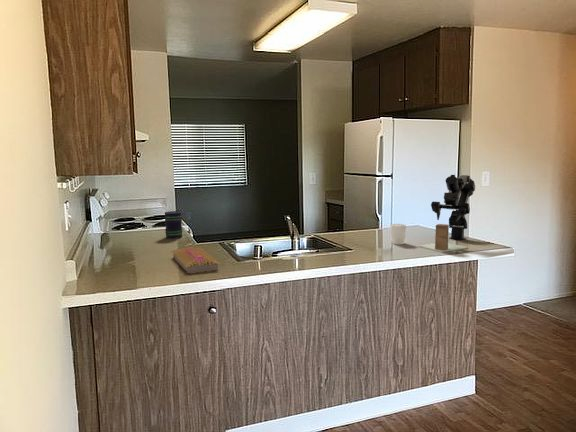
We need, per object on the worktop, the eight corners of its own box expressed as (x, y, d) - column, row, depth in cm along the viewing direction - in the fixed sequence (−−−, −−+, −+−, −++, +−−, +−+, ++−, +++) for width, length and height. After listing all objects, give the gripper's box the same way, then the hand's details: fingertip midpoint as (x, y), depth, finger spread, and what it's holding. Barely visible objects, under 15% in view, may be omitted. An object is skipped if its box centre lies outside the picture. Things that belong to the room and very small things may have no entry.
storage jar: (162, 237, 275) (160, 212, 273) (174, 235, 283) (173, 210, 281) (174, 239, 270) (173, 213, 267) (186, 236, 278) (185, 211, 276)
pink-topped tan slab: (171, 258, 224) (170, 245, 223) (201, 255, 230) (200, 242, 229) (186, 275, 192) (186, 261, 191) (220, 271, 198) (220, 257, 197)
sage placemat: (443, 242, 249) (443, 241, 249) (467, 248, 235) (467, 247, 235) (418, 246, 241) (418, 245, 241) (441, 252, 227) (441, 251, 227)
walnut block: (437, 247, 236) (438, 223, 234) (447, 248, 233) (448, 224, 231) (435, 249, 231) (435, 225, 230) (445, 250, 229) (446, 226, 227)
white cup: (404, 241, 253) (404, 223, 252) (406, 244, 246) (407, 226, 244) (389, 241, 254) (389, 223, 253) (391, 244, 246) (391, 226, 245)
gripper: (432, 186, 245) (425, 209, 237) (469, 187, 235) (463, 211, 227) (436, 199, 252) (429, 222, 245) (472, 201, 242) (466, 225, 235)
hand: (446, 220), depth 238 cm, fingers open, 9 cm apart
